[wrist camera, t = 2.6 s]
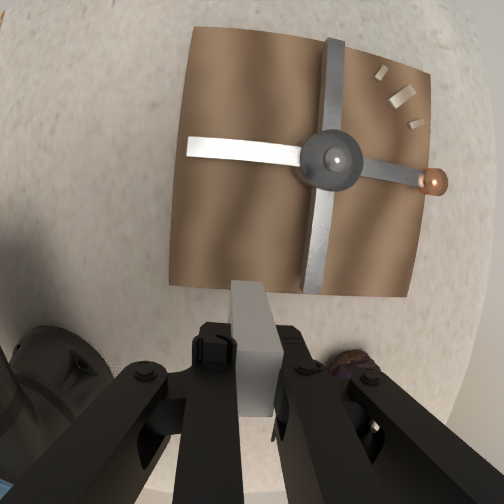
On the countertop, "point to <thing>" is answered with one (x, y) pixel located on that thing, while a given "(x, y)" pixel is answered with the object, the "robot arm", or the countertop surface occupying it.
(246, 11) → the countertop surface
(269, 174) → the board
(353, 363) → the rock
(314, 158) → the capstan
